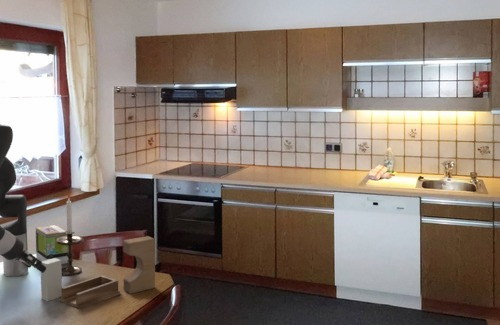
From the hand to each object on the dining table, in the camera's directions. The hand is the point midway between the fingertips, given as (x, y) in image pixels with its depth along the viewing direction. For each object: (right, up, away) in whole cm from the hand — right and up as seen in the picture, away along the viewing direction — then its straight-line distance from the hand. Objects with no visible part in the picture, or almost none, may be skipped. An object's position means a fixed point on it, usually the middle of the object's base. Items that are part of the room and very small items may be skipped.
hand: (37, 267), depth 191 cm
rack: (+17, -12, +7) cm, 22 cm away
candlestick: (+1, -9, +33) cm, 34 cm away
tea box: (-12, -6, +48) cm, 50 cm away
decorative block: (+34, -12, +16) cm, 39 cm away
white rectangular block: (+3, -12, +6) cm, 14 cm away
